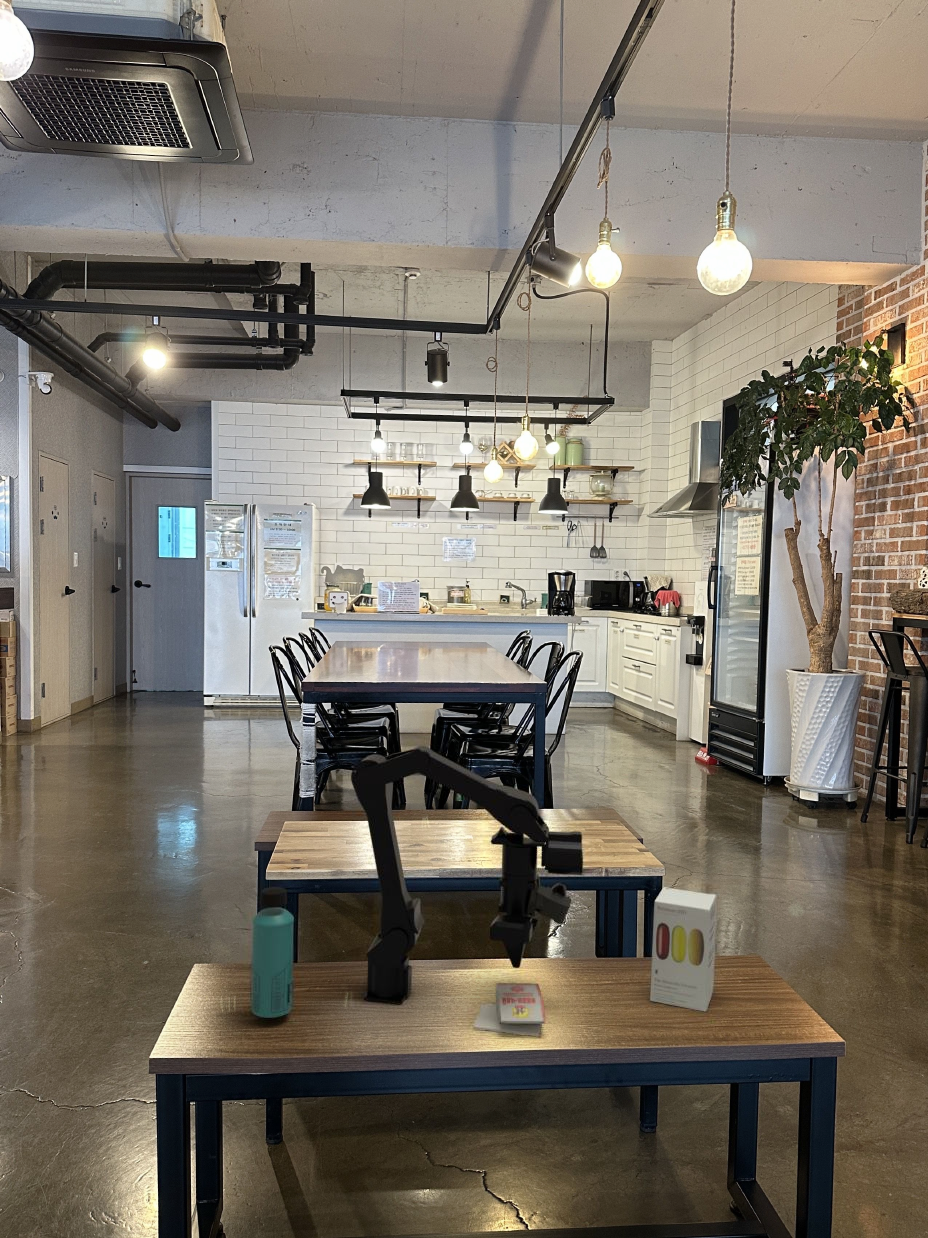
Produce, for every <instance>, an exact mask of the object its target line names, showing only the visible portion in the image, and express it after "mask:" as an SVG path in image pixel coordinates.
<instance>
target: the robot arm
mask: <svg viewBox="0 0 928 1238" xmlns="http://www.w3.org/2000/svg"><path fill="white" fill-rule="evenodd" d="M416 774H420V775H423V776H424V777H426V778H428V779H430V780H432V781H434V782H435V783H437V784H439V785H441V786H443V787H445V788H447V789H448V790H450V791H452V792H454V793H456V794H458V795H460V796H462V797H464V798H466V799H468V800H470V802H473V803H475V804H476V805H479V806H480V807H481V808H483V809H484V810H486V812H487V813H488V814H490V815H491V817H492V818H493V819H494V820H496V821H497V822H498V823H499V824H501V825H502V826H500V827H499V829H498V831H496V832H495V833H493V835H492V836H491V839H490V843H491V845H497V846H498V845H501V846H502V847H501V849H502V851H501V877H500V878H499V881H498V887H499V888H500V902H499V904H498V913H505V915H504V914H499V915H497V916H496V917H495V918H494V919H493V920H492V922H491V924H490V926H489V939H490V940H492V941H496V942H497V941H498V942H502V945H503V947H504V949H505V951H506V953H507V957H508V959H509V962H510V964H511V966H512V968H513V969H519V968H520V967H521V963H522V960H523V955H524V953H525V952H524V951H525V948H526V944H528V943H530V942H531V939H532V937H533V934H534V933H535V930H536V927H537V925H538V922H539V919H537V918H532V917H536V915H537V913H538V914H540V915H542V916H544V917H546V918H548V919H550V920H552V921H553V922H554V923H556V924H559V925H563V924H564V923H565V919H566V917H567V915H568V913H569V909H570V908H571V905H572V901H573V900H572V899H571V896H569V895H567V887H566V885H564V884H562V883H560V882H557V883H555V884H554V885H553V886H552V887H551V888H550V887H549V886H547V887H545V886H543V885H541V878H540V877H539V875H538V872H537V871H538V870H537V869H538V848H539V847H540V848H541V856H540V857H541V858H540V859H541V860H540V862H541V863H540V864H541V865H540V867H541V868H544V871H547V874H549V875H550V874H551V875H554V874H555V875H569V876H583V868H584V854H583V853H584V852H583V833H582V831H575V830H574V831H569V832H567V831H550V828H549V826H548V825H547V823H546V822H545V820H544V819H543V818H542V816H541V815H540V813H539V804H538V801H537V799H536V797H535V796H534V795H533V794H531V793H529V792H526V791H524V790H521V789H517V788H516V787H515V788H514V787H512V786H507V785H503V784H498V783H496V782H492V781H490V780H488V779H486V778H485V777H482V776H480V775H479V774H477V773H475V772H472V771H471V770H469V769H468V768H465V767H463V766H462V765H460V764H458V763H456V762H454V761H452V760H450V759H448V758H447V757H444V756H442V755H440V754H438V753H437V752H435V751H433V750H432V749H431V748H430V747H428V746H427V745H418V746H416V747H414V748H412V749H408V750H403V751H400V752H396V753H392V754H389V755H387V756H383V755H380V754H371V755H367V756H366V757H365V758H363V759H362V760H360V761H359V762H358V763H357V764H355V766H354V767H353V769H352V770H351V774H350V781H351V784H352V787H353V790H354V792H355V795H356V798H357V800H358V802H359V804H360V806H361V808H362V810H363V811H364V813H365V815H366V819H367V825H368V830H369V834H370V835H369V836H370V840H371V847H372V851H373V859H374V862H375V868H376V875H377V879H378V884H379V889H380V890H379V891H380V895H381V906H380V907H381V909H380V921H379V923H380V929H379V930H380V931H379V932H378V933H377V934H376V936H375V938H374V940H373V942H372V943H371V944H370V947H369V949H368V951H367V952H366V958H367V977H366V979H367V980H366V981H367V982H366V992H365V994H364V995H363V1000H365V1001H373V1002H381V1003H391V1004H397V1005H398V1004H403V1003H404V1001H405V999H406V998H407V996H409V995H410V992H411V991H412V984H413V983H412V979H413V977H412V975H413V974H412V972H413V966H412V965H411V964H410V955H408V953H410V952H411V951H412V950H413V948H414V947H415V945H416V942H417V940H418V938H419V935H420V933H421V930H422V926H423V925H424V922H425V918H424V916H423V915H422V912H421V899H420V897H417V898H414V899H412V897H411V895H410V894H409V892H408V889H407V886H406V885H407V884H406V881H405V880H406V879H405V875H404V869H403V865H402V864H403V863H402V860H401V859H402V858H401V853H400V848H399V843H398V838H397V833H396V827H395V826H396V825H395V821H394V820H395V819H394V814H393V810H392V809H393V807H392V803H393V791H394V790H393V789H394V782H396V781H399V780H401V779H404V778H407V777H411V776H412V775H416ZM504 827H505V828H506V829H507V830H509V831H511V832H509V831H507V830H506V829H505V828H504ZM525 836H526V837H525Z"/></svg>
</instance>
